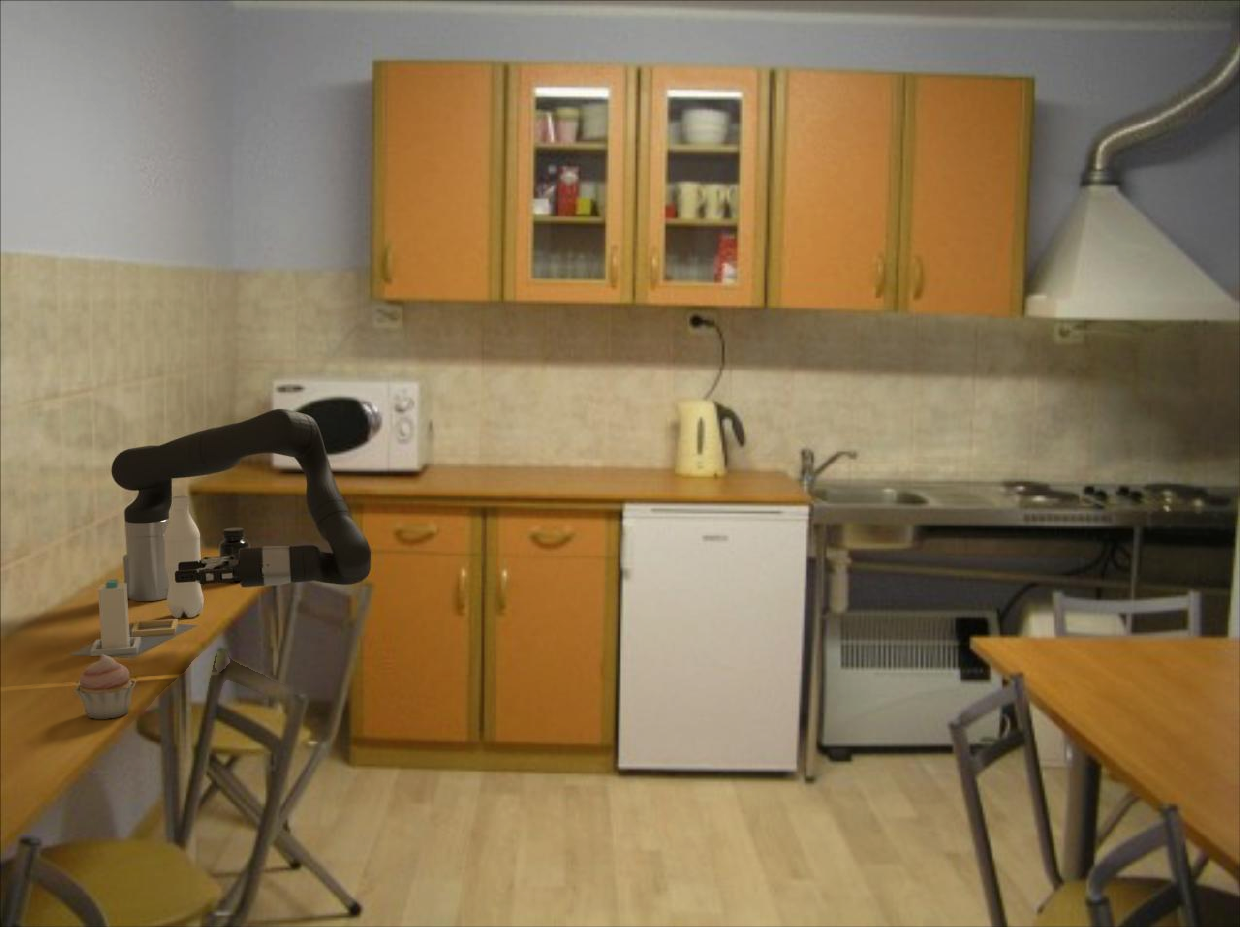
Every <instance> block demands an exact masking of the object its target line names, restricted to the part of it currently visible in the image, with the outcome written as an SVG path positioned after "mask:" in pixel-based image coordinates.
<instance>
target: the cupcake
mask: <svg viewBox="0 0 1240 927" xmlns="http://www.w3.org/2000/svg"><path fill="white" fill-rule="evenodd" d="M99 657H100V658H99V661H96V662H94V663H92V664H90V665H88V667H86V668H85V670H84V672H83V673H82V674H81V675H80V676H79V679H78V681H79V684H77V685H76V686H77V688H75V689H74V691H75V693H76V694H77V695H78V696H79V698H80V700H81V702H82V704H83V707H84V708H83V709H84V711H85V714H86V715H87V717H88V718H89V717H90V718H89V719H92V718H94V719H93V720H109V719H108V718H112V719H117V718H119V717H122V716H124V715H127V714H128V713H129V710H130V705H131V699H132V694H133V691H134V688H135V686H136V684H137V680H132V678H131V677H130V672H129V671H130V670H128V668H127V667H126V666H125V665H123V664H122V663H119V662H117V661H116V660H115V659H114V657H109V656H106V655H104V654H101V656H99Z"/></svg>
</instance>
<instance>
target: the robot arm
mask: <svg viewBox="0 0 1240 927" xmlns="http://www.w3.org/2000/svg"><path fill="white" fill-rule="evenodd" d="M260 454H273V455H280V456H286V457H290V458H294V459H295V460H296V462H297V463H298V464H299V466H300V467H301V469H302V471H303V473H304V475H305V479H306V493H305V494H306V498H305V499H306V506H307V508H308V509H307V510H308V513H309V515H310V516H311V518H312V521H313V523H314V525H315V527H316V530H317V531H318V532H319V535H320V536H321V537H322V539H323V540H324V541H326V542H327V543H328V544H329V547H330V549H331V551H332V552H323V551H321V550H320V548H319V547H318V546H316V545H313V544H312V545H308V544H307V545H305V544H304V545H291V546H290V545H288V546H283V545H282V546H281V545H273V546H271V545H269V546H256V547H250V548H241V549H240V550H239V559H238V560H235V556H233V555H231V556H221V557H220V556H204V557H203V558H201V559H200V560H199V562H198V561H187V562H179V564H178V570H179V571H176V572H175V582H176V583H184V582H196V580H197V583H200V584H201V586H204V585H211V584H212V585H213V584H224V583H228V584H230V583H231V582H233V578H235V577H239V578H240V582H239V583H240V584H239V585H240V586H241V588H256V587H269V586H280V585H281V586H282V585H285V584H291V583H292V584H293V583H294V584H295V583H307V582H318V583H321V584H322V583H323V584H330V585H331V584H332V585H341V586H348V585H356V584H358V583H361V582H363V581H364V580H366V579H367V578H368V576H369V575H370V572H371V570H372V568H371V567H372V549H371V546H370V543H369V541H368V540H367V538H366V536H365V535H364V532H362V531H361V529H360V527H359V526H358V524H357V523H355V521H354V518H353V517H352V515H351V513H350V510H349V509H348V506H347V504H346V502H345V501H344V498H343V496H342V494H341V492H340V490H339V487H338V486H337V482H336V480H335V476H334V473H333V470H332V467H331V463H330V460H329V457H328V454H327V451H326V448H325V443H324V439H323V437H322V433H321V430H320V427H319V426H318V423H317V421H315V419H314V418H313V417H312V416H310V415H309V414H306V413H302V412H299V411H295V410H292V409H286V408H275V409H272V410H269V411H267V412H264V413H261V414H259V415H257V416H255V417H251V418H249V419H246V420H243V421H239V422H236V423H230V424H226V425H222V426H217V427H213V428H212V427H211V428H208V429H204V430H200V431H197V432H194V433H190V434H188V435H184V436H182V437H179V438H176V439H173V440H170V441H168V442H166V443H162V444H160V445H144V446H139V447H137V446H136V447H132V448H128V449H125V450H122V451H121V452H119V453H118V454H117V456H115V458H114V460H113V462H112V465H111V469H110V470H111V476H112V479H113V480H114V482H115V483H116V484H117V485H118V486H119V488H122V489H124V490H126V491H131V492H132V491H133V492H136V491H138V494H137V496H136V497H135V499H134V500H133V501H132V502H131V503H130V504H129V505H127V506H126V507H125V508H124V511H123V512H124V513H123V515H124V517H123V518H124V529H125V530H124V531H125V547H126V548H125V549H126V550H125V551H126V554H125V555H123V556H122V563H123V564H122V566H123V570H122V571H123V582H124V583H126V585H127V600H131V601H135V602H151V601H152V602H153V601H160V600H167V597H168V590H169V581H168V574H167V570H166V567H165V562H166V558H165V540H164V533H165V530H166V527H167V525H168V523H169V521H170V510H171V507H172V504H173V503H172V502H173V501H172V497H173V480H174V479H181V478H183V479H184V478H192V477H193V478H194V477H201V476H207V475H213V474H217V473H220V472H224V471H225V472H226V471H228V470H231V469H232V468H234V467H235V466H237V465H238V464H240V462H241V461H242V460H243V459H244V458H246V457H249V456H255V455H260Z"/></svg>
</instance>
